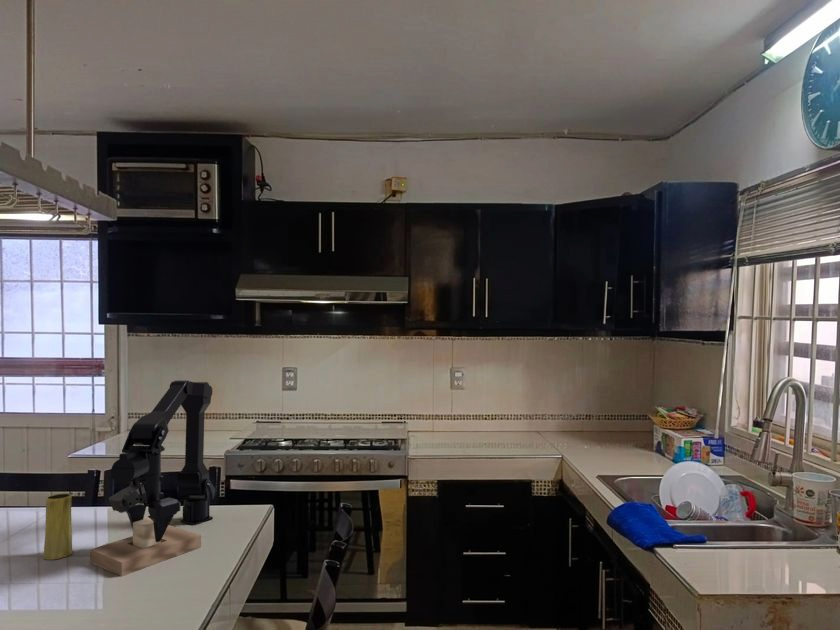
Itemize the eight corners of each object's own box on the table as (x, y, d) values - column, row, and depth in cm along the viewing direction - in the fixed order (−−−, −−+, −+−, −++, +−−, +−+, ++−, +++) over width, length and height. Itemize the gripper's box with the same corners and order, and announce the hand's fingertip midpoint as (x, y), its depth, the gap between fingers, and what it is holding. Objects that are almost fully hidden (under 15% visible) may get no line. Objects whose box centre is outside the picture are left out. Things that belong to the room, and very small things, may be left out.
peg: (150, 549, 140) (150, 517, 140) (160, 553, 137) (161, 520, 138) (132, 555, 136) (133, 522, 136) (143, 559, 134) (143, 525, 134)
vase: (62, 560, 134) (63, 499, 134) (37, 560, 134) (37, 499, 134) (78, 550, 140) (79, 492, 140) (53, 550, 140) (54, 492, 140)
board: (168, 536, 149) (168, 524, 149) (200, 547, 141) (201, 535, 141) (89, 562, 132) (89, 549, 132) (121, 576, 124) (121, 562, 125)
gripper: (94, 475, 136) (93, 540, 135) (136, 486, 125) (136, 557, 125) (138, 465, 145) (138, 527, 145) (182, 475, 135) (181, 541, 134)
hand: (147, 537), depth 137 cm, fingers open, 9 cm apart
